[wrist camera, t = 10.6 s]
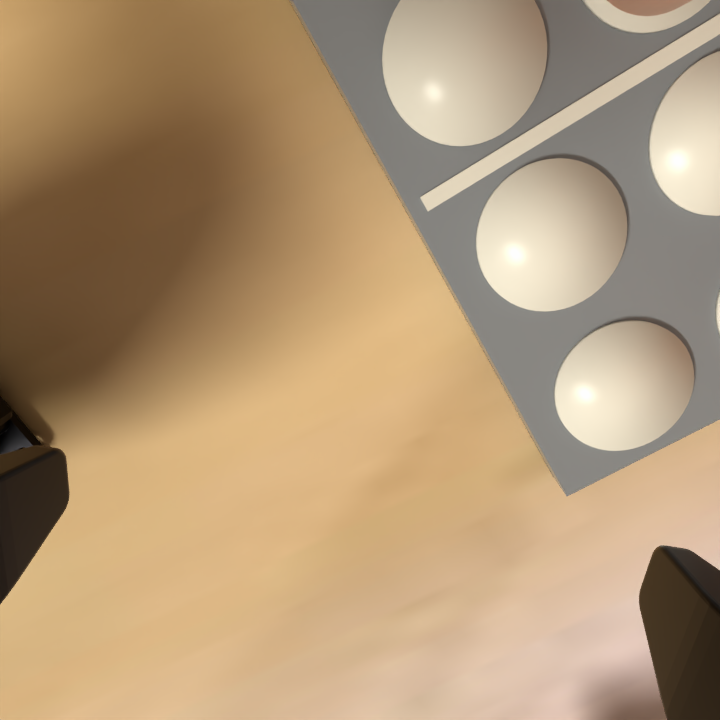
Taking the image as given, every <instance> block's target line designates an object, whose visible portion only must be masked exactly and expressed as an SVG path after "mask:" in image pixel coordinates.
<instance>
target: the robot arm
mask: <svg viewBox="0 0 720 720" xmlns="http://www.w3.org/2000/svg"><path fill="white" fill-rule="evenodd" d="M23 447H24V448H23ZM68 501H69V484H68V473H67V462H66V456H65V454H64V452H63V451H62V450H60V449H58V448H52V447H46V446H42V445H41V444H40V442H39V441H38V440H37V439H36V437H35V436H34V435H33V434H32V433H31V432H30V430H29V429H28V428H27V427H26V426H25V425H24V424H23V422H22V421H21V420H20V419H19V418H18V417H17V415H16V414H15V413H14V412H13V411H12V409H11V408H10V407H9V406H8V404H7V403H6V402H5V401H4V400H3V399H2V397H1V396H0V604H1V603H2V601H3V600H4V599H5V598H6V596H7V595H8V594H9V592H10V591H11V589H12V588H13V587H14V585H15V584H16V582H17V581H18V580H19V578H20V577H21V575H22V574H23V572H24V571H25V569H26V568H27V566H28V565H29V563H30V562H31V560H32V559H33V557H34V556H35V554H36V553H37V551H38V550H39V548H40V547H41V545H42V544H43V542H44V541H45V539H46V538H47V536H48V535H49V533H50V532H51V530H52V529H53V527H54V526H55V524H56V523H57V521H58V520H59V518H60V517H61V515H62V514H63V512H64V511H65V509H66V507H67V504H68ZM639 605H640V611H641V615H642V619H643V623H644V628H645V632H646V636H647V640H648V645H649V649H650V653H651V657H652V662H653V666H654V670H655V674H656V679H657V683H658V687H659V691H660V696H661V699H662V703H663V707H664V711H665V714H666V718H667V720H720V570H718V569H717V568H715V567H714V566H712V565H711V564H710V563H708V562H707V561H705V560H704V559H702V558H701V557H699V556H698V555H697V554H695V553H694V552H692V551H690V550H688V549H684V548H677V547H671V546H664V545H661V546H659V547H657V548H656V549H655V550H654V552H653V554H652V557H651V560H650V563H649V566H648V568H647V571H646V574H645V577H644V580H643V583H642V586H641V589H640V594H639Z"/></svg>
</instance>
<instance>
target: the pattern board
mask: <svg viewBox="0 0 720 720" xmlns="http://www.w3.org/2000/svg"><path fill="white" fill-rule="evenodd" d="M289 1H290V3H291V5H292V7H293V8H294V10H295V12H296V14H297V16H298V17H299V19H300V21H301V23H302V25H303V26H304V28H305V30H306V32H307V34H308V35H309V37H310V39H311V41H312V43H313V44H314V46H315V48H316V50H317V52H318V53H319V55H320V57H321V59H322V61H323V63H324V64H325V66H326V68H327V70H328V72H329V73H330V75H331V77H332V79H333V81H334V82H335V84H336V86H337V88H338V90H339V91H340V93H341V95H342V97H343V99H344V100H345V102H346V104H347V106H348V108H349V109H350V111H351V113H352V115H353V117H354V118H355V120H356V122H357V124H358V126H359V127H360V129H361V131H362V133H363V135H364V136H365V138H366V140H367V142H368V144H369V145H370V147H371V149H372V151H373V153H374V154H375V156H376V158H377V160H378V162H379V163H380V165H381V167H382V169H383V171H384V172H385V174H386V176H387V178H388V180H389V181H390V183H391V185H392V187H393V189H394V190H395V192H396V194H397V196H398V198H399V199H400V201H401V203H402V205H403V207H404V208H405V210H406V212H407V214H408V216H409V217H410V219H411V221H412V223H413V225H414V227H415V228H416V230H417V232H418V234H419V236H420V237H421V239H422V241H423V243H424V245H425V246H426V248H427V250H428V252H429V254H430V255H431V257H432V259H433V261H434V263H435V264H436V266H437V268H438V270H439V272H440V273H441V275H442V277H443V279H444V281H445V282H446V284H447V286H448V288H449V290H450V291H451V293H452V295H453V297H454V299H455V300H456V302H457V304H458V306H459V308H460V309H461V311H462V313H463V315H464V317H465V318H466V320H467V322H468V324H469V326H470V327H471V329H472V331H473V333H474V335H475V336H476V338H477V340H478V342H479V344H480V345H481V347H482V349H483V351H484V353H485V354H486V356H487V358H488V360H489V362H490V363H491V365H492V367H493V369H494V371H495V372H496V374H497V376H498V378H499V380H500V381H501V383H502V385H503V387H504V389H505V391H506V392H507V394H508V396H509V398H510V400H511V401H512V403H513V405H514V407H515V409H516V410H517V412H518V414H519V416H520V418H521V419H522V421H523V423H524V425H525V427H526V428H527V430H528V432H529V434H530V436H531V437H532V439H533V441H534V443H535V445H536V446H537V448H538V450H539V452H540V454H541V455H542V457H543V459H544V461H545V463H546V464H547V466H548V468H549V470H550V472H551V473H552V475H553V477H554V478H555V480H556V481H557V483H558V484H559V486H560V487H561V489H562V490H563V491H564V493H565V494H566V496H569V495H571V494H573V493H575V492H577V491H579V490H581V489H583V488H585V487H587V486H589V485H590V484H592V483H594V482H596V481H598V480H600V479H602V478H604V477H606V476H608V475H610V474H612V473H614V472H616V471H618V470H620V469H622V468H624V467H626V466H628V465H630V464H632V463H634V462H636V461H638V460H640V459H642V458H644V457H646V456H648V455H650V454H652V453H654V452H656V451H658V450H660V449H662V448H664V447H666V446H668V445H670V444H672V443H674V442H676V441H678V440H680V439H682V438H684V437H686V436H688V435H690V434H692V433H694V432H696V431H698V430H700V429H702V428H704V427H706V426H708V425H710V424H711V423H713V422H715V421H717V420H719V419H720V0H289Z"/></svg>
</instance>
